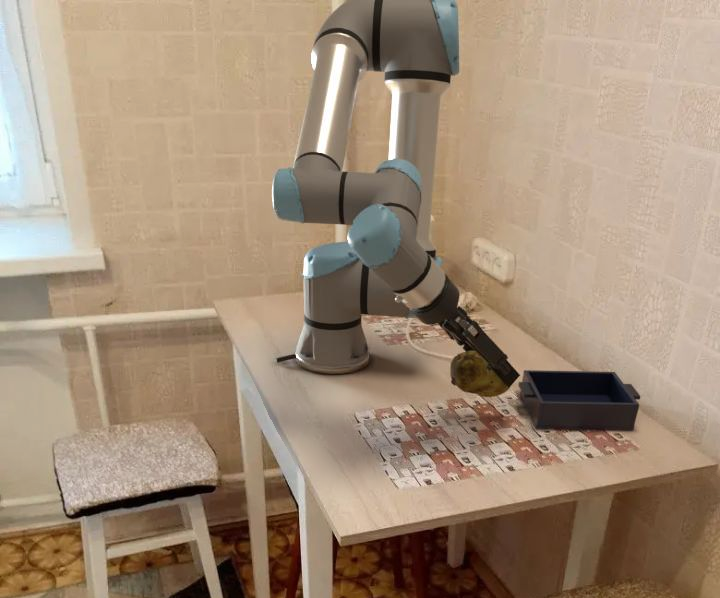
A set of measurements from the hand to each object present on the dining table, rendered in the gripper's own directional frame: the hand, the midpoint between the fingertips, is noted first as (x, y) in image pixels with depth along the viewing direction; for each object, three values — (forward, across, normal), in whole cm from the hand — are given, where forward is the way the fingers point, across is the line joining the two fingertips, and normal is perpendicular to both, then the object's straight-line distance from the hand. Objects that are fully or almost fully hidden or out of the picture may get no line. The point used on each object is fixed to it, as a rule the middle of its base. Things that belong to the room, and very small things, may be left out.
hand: (500, 371), depth 127 cm
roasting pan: (+18, +3, +4) cm, 19 cm away
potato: (0, 0, -5) cm, 5 cm away
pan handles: (+15, +3, +7) cm, 17 cm away
